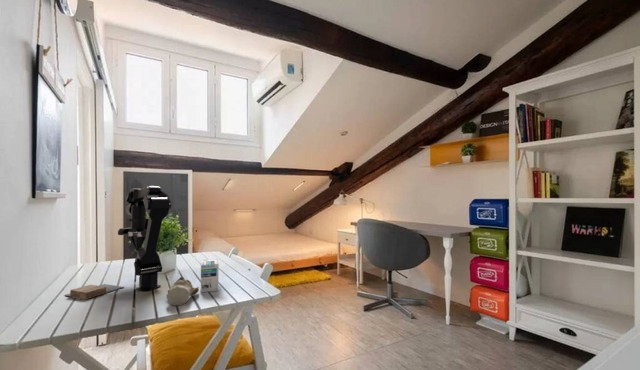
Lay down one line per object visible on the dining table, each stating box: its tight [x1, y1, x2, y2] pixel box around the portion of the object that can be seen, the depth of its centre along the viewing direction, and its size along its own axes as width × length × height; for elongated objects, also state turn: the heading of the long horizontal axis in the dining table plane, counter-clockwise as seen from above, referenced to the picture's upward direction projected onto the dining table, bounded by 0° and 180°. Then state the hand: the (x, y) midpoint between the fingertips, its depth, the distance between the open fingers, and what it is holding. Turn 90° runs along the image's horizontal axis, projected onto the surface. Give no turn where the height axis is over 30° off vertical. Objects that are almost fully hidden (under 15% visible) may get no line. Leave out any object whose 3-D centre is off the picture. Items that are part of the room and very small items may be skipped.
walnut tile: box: [69, 284, 107, 300], centre depth 110 cm, size 2×7×9 cm
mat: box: [64, 283, 124, 300], centre depth 114 cm, size 12×14×1 cm
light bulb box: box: [200, 258, 219, 293], centre depth 119 cm, size 11×7×11 cm, turn 22°
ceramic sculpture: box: [166, 276, 200, 307], centre depth 105 cm, size 11×9×15 cm
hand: (138, 251), depth 129 cm, fingers closed
